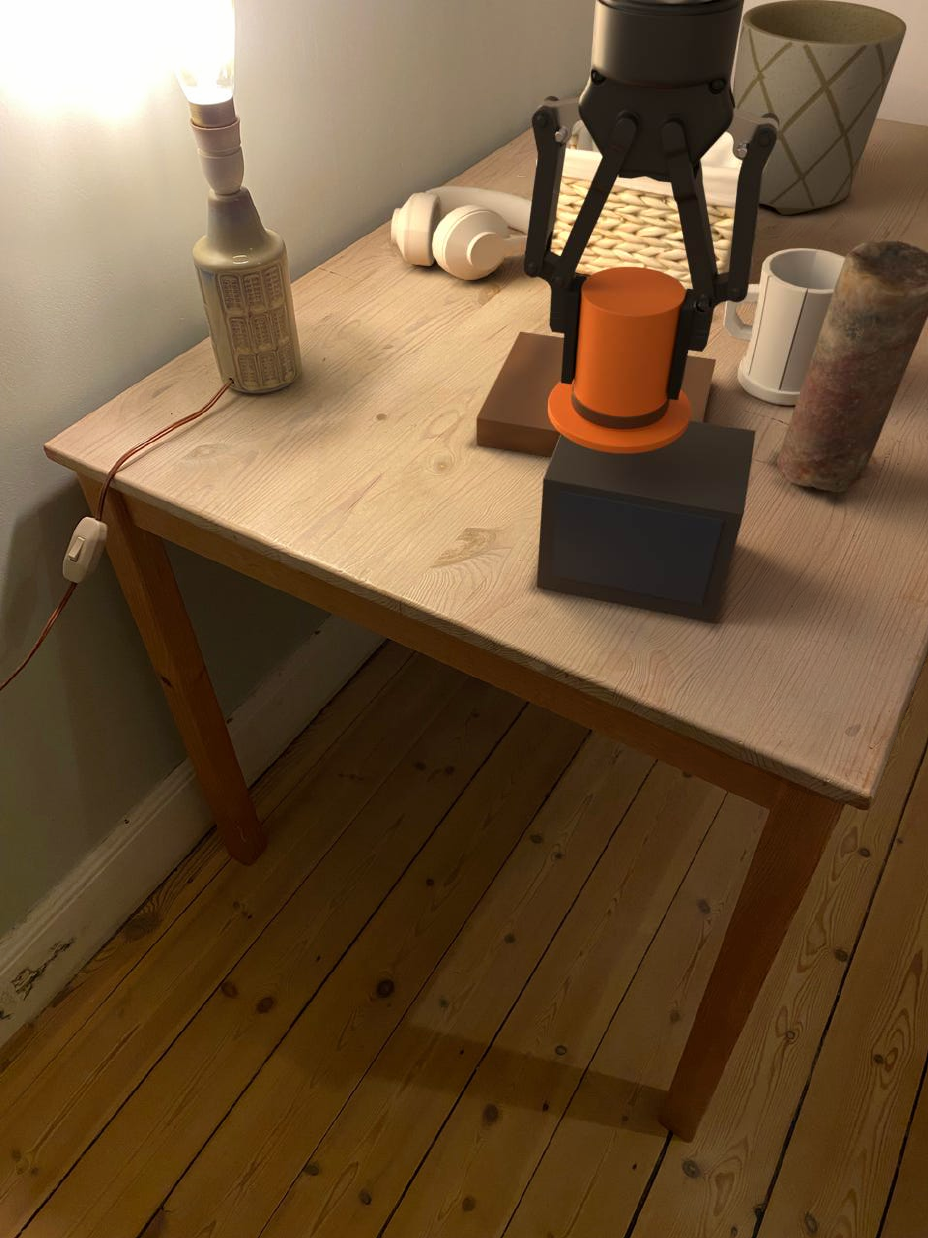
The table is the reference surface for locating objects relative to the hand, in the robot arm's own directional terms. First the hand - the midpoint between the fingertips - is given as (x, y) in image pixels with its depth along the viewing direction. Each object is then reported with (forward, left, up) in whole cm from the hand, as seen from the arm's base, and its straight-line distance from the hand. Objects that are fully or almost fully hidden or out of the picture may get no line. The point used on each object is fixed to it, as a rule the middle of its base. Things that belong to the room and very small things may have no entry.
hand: (622, 380), depth 63 cm
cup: (-12, -30, -17) cm, 37 cm away
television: (-3, 0, -17) cm, 17 cm away
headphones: (+26, -50, -17) cm, 59 cm away
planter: (-10, -79, -17) cm, 82 cm away
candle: (-17, -16, -17) cm, 29 cm away
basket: (+5, -53, -17) cm, 56 cm away
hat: (0, 0, -2) cm, 2 cm away
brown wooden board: (+4, -20, -17) cm, 27 cm away
